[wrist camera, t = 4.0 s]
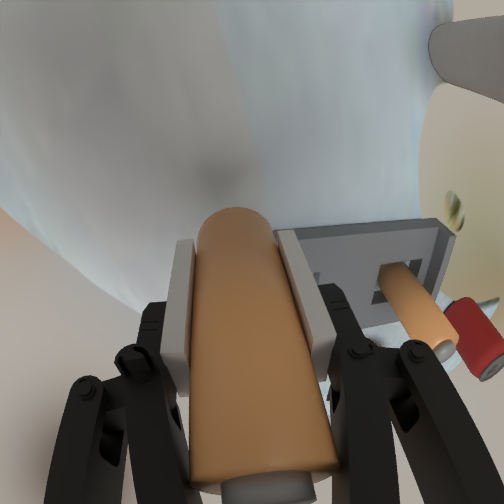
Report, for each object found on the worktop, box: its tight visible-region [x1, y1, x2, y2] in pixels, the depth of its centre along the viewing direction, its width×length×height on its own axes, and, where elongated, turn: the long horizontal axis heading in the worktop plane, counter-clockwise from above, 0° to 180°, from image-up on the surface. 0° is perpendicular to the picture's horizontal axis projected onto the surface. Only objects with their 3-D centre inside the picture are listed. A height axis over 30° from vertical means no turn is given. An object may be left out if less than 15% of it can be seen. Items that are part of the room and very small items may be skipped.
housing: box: [272, 218, 459, 363], centre depth 27 cm, size 13×22×13 cm, turn 93°
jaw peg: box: [189, 207, 341, 504], centre depth 11 cm, size 4×4×13 cm
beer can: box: [444, 297, 504, 382], centre depth 34 cm, size 7×7×12 cm
